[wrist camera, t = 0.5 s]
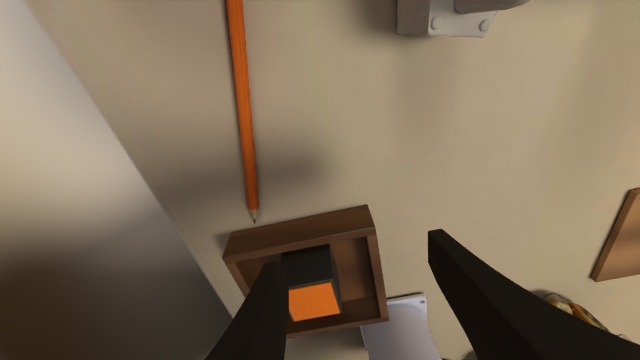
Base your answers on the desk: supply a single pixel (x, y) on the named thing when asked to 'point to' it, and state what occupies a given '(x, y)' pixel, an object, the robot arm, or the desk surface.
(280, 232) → the walnut box
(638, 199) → the cork mat
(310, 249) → the puzzle cube
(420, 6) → the padlock
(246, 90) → the pencil
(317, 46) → the desk surface
